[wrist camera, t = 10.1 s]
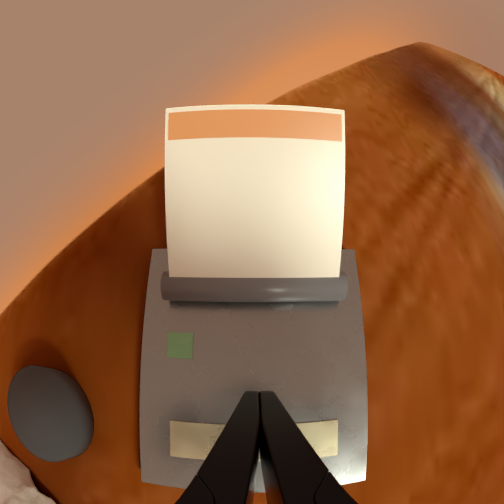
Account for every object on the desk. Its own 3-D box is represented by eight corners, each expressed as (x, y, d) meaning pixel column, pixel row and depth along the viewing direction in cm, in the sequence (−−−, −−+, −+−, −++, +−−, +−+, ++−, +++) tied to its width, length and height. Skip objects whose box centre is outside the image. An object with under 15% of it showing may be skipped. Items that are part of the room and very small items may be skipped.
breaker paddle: (345, 305, 17) (354, 109, 14) (162, 304, 17) (155, 107, 14) (337, 293, 19) (345, 115, 16) (169, 293, 19) (164, 114, 16)
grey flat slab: (360, 476, 14) (366, 480, 13) (146, 477, 14) (141, 481, 13) (349, 255, 21) (354, 248, 20) (156, 254, 21) (152, 248, 20)
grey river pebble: (113, 429, 15) (97, 433, 13) (60, 470, 13) (42, 475, 11) (60, 351, 18) (42, 346, 15) (15, 397, 15) (-4, 395, 13)
